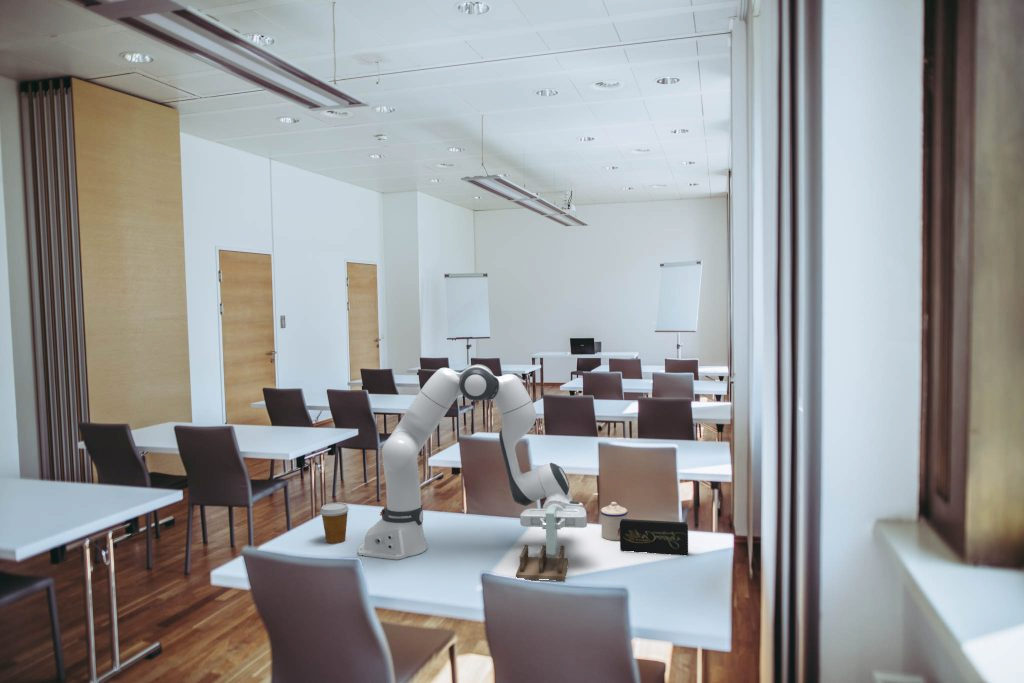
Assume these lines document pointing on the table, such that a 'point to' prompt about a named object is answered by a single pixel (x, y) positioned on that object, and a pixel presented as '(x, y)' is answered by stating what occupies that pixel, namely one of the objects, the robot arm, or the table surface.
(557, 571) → the slot rack
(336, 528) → the disposable coffee cup
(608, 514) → the teacup with lid
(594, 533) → the table surface
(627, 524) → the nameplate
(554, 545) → the pale green rectangular block
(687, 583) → the table surface
